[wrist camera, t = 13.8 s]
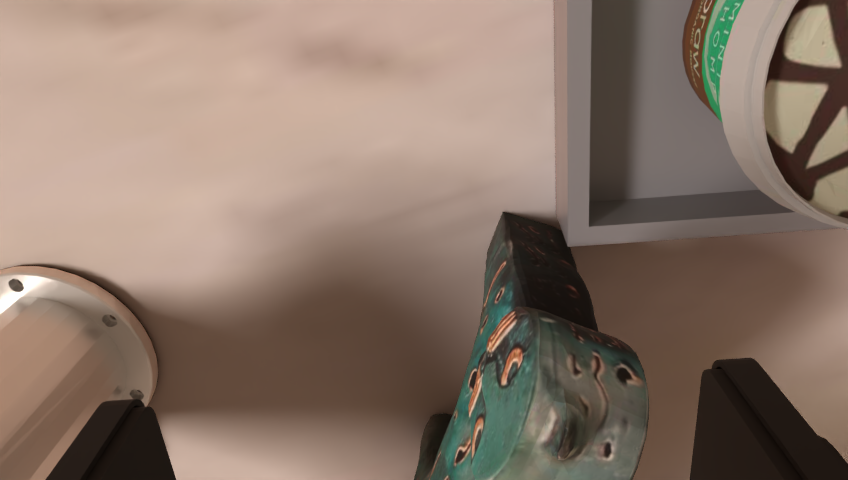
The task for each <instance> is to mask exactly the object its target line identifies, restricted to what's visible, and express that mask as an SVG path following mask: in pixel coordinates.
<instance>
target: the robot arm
mask: <svg viewBox="0 0 848 480" xmlns="http://www.w3.org/2000/svg"><path fill="white" fill-rule="evenodd" d="M157 378H158V366H157V358H156V354H155V351H154V348H153V345H152V342H151V340H150V338H149V337H148V335H147V333H146V331H145V330H144V328H143V326H142V324H141V323H140V322H139V321H138V320H137V318H136V317H135V316H134V315H133V314H132V312H131V311H130V310H129V309H128V308H127V307H126V306H125V305H123V304H122V303H121V302H120V301H119V300H118V299H117V298H116V297H114V296H113V295H112V294H110V293H109V292H107V291H106V290H104V289H102V288H101V287H99V286H98V285H96V284H94V283H92V282H90V281H88V280H86V279H84V278H82V277H79V276H77V275H74V274H71V273H68V272H65V271H61V270H58V269H53V268H46V267H39V266H16V267H11V268H7V269H2V270H0V480H176V478H175V475H174V471H173V468H172V465H171V462H170V459H169V456H168V452H167V449H166V446H165V443H164V440H163V437H162V433H161V430H160V427H159V424H158V421H157V418H156V414H155V412H154V410H153V409H152V408H151V407H147V405H148V404H149V402H150V401H151V399H152V396H153V394H154V391H155V389H156V385H157ZM690 480H848V464H847V462H846V461H845V460H844V459H843V457H842V456H841V455H840V454H839V453H838V451H837V450H836V449H835V448H834V447H833V446H832V445H831V444H830V443H829V442H828V441H827V440H826V439H824V438H822V437H820V436H817V434H816V433H815V432H814V431H813V429H812V428H811V427H810V426H809V425H808V423H807V422H806V421H805V420H804V418H803V417H802V416H801V415H800V414H799V412H798V411H797V410H796V409H795V407H794V406H793V405H792V404H791V403H790V401H789V400H788V399H787V398H786V396H785V395H784V394H783V393H782V392H781V390H780V389H779V388H778V387H777V385H776V384H775V383H774V382H773V381H772V379H771V378H770V377H769V376H768V374H767V373H766V372H765V371H764V370H763V368H762V367H761V366H760V365H759V363H758V362H757V361H755V360H754V359H752V358H740V359H726V360H717V361H715V362H714V364H713V365H712V369H708V370H704V372H703V374H702V379H701V387H700V396H699V405H698V413H697V422H696V430H695V439H694V448H693V456H692V465H691V473H690Z"/></svg>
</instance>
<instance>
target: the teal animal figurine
mask: <svg viewBox="0 0 848 480" xmlns="http://www.w3.org/2000/svg"><path fill="white" fill-rule="evenodd" d="M648 419H649V398H648V388H647V384H646V379H645V375H644V370H643V368H642V366H641V363H640V361H639V359H638V356H637V354H636V353H635V352H634V351H633V350H632V349H631V348H630V347H629V346H628V345H627V344H625V343H624V342H622V341H620V340H618V339H616V338H614V337H611V336H609V335H606V334H603V333H600V332H598V328H597V324H596V320H595V317H594V311H593V306H592V302H591V298H590V295H589V292H588V290H587V288H586V285H585V283H584V281H583V280H582V278H581V277H580V275H579V273H578V272H577V269H576V264H575V261H574V259H573V256H572V253H571V249H570V247H568V246H567V244H566V241H565V238H564V235H563V232H562V230H559V229H557V228H554V227H552V226H549V225H546V224H543V223H540V222H536V221H532V220H529V219H525V218H522V217H518V216H515V215H512V214H508V213H505V212H503V213H502V216H501V218H500V221H499V223H498V226H497V228H496V231H495V233H494V236H493V238H492V241H491V243H490V246H489V249H488V252H487V260H486V272H485V284H484V300H483V310H482V314H481V321H480V326H479V330H478V333H477V337H476V340H475V343H474V347H473V350H472V354H471V357H470V360H469V364H468V367H467V370H466V374H465V377H464V380H463V384H462V388H461V392H460V395H459V398H458V401H457V404H456V407H455V410H454V413H453V416H452V415H449V414H437V415H433V416H432V417H431V418H430V420H429V422H428V423H427V425H426V427H425V430H424V433H423V436H422V440H421V446H420V457H419V463H418V467H417V471H416V474H415V477H414V480H632V479H633V477H634V474H635V472H636V470H637V467H638V464H639V461H640V457H641V454H642V450H643V447H644V443H645V440H646V435H647V427H648Z"/></svg>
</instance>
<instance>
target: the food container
mask: <svg viewBox="0 0 848 480" xmlns="http://www.w3.org/2000/svg"><path fill="white" fill-rule="evenodd" d="M682 56H683V62H684V67H685V72H686V75H687V77H688V80H689V82H690V85H691V87H692V88H693V90H694V91H695V93H696V95H697V96H698V98H699V99H700V100H701V101H702V102H703V103H704V104H705V105H706V106H707V107H708V108H709V109H710V111H711V112H712V113H713V114H714V115H715V116H716V117H717V118H718V119H719V120H720V121H721V122H722V123H723V128H724V133H725V135H726V138H727V141H728V143H729V146H730V149H731V151H732V154H733V156H734V157H735V159H736V160H737V162H738V164H739V165H740V167H741V168H742V170H743V172H744V173H745V175H746V176H747V177H748V178H749V179H750V180H751V181H752V182H753V183H754V184H755V185H756V186H757V187H758V189H759V190H760V191H762V192H763V193H764V194H766V195H767V196H769V197H770V198H771V199H773V200H774V201H775V202H777V203H778V204H780V205H782V206H784V207H786V208H788V209H790V210H793V211H795V212H797V213H799V214H801V215H804V216H807V217H809V218H812V219H815V220H817V221H820V222H823V223H826V224H830V225H833V226H836V227H840V228H843V229H848V0H692V4H691V7H690V10H689V13H688V16H687V19H686V22H685V25H684V31H683V39H682Z"/></svg>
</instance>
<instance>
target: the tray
mask: <svg viewBox="0 0 848 480" xmlns="http://www.w3.org/2000/svg"><path fill="white" fill-rule="evenodd" d="M691 4H692V0H554V72H555V165H556V216H557V218H558V221H559V224H560V227H561V230H562V232H563V235H564V238H565V241H566V244H567V246H568V247H573V246H588V245H603V244H618V243H632V242H647V241H662V240H677V239H691V238H706V237H721V236H735V235H750V234H765V233H780V232H794V231H809V230H824V229H838V228H840V227H836V226H833V225H830V224H826V223H823V222H820V221H817V220H815V219H812V218H809V217H807V216H804V215H801V214H799V213H797V212H795V211H793V210H790V209H788V208H786V207H784V206H782V205H780V204H778V203H777V202H775V201H774V200H773V199H771V198H770V197H769V196H767V195H766V194H764V193H763V192H762V191H760V190H759V189H758V187H757V186H756V185H755V184H754V183H753V182H752V181H751V180H750V179H749V178H748V177H747V176H746V175H745V173H744V172H743V170H742V168H741V167H740V165H739V164H738V162H737V160H736V159H735V157H734V156H733V154H732V151H731V149H730V146H729V143H728V141H727V138H726V135H725V133H724V128H723V123H722V122H721V121H720V120H719V119H718V118H717V117H716V116H715V115H714V114H713V113H712V112H711V111H710V109H709V108H708V107H707V106H706V105H705V104H704V103H703V102H702V101H701V100H700V99H699V98H698V96H697V95H696V93H695V91H694V90H693V88H692V87H691V85H690V82H689V80H688V77H687V75H686V72H685V67H684V62H683V56H682V39H683V31H684V25H685V22H686V19H687V16H688V13H689V10H690V7H691Z"/></svg>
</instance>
